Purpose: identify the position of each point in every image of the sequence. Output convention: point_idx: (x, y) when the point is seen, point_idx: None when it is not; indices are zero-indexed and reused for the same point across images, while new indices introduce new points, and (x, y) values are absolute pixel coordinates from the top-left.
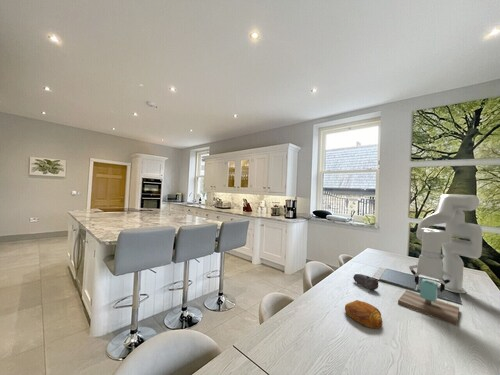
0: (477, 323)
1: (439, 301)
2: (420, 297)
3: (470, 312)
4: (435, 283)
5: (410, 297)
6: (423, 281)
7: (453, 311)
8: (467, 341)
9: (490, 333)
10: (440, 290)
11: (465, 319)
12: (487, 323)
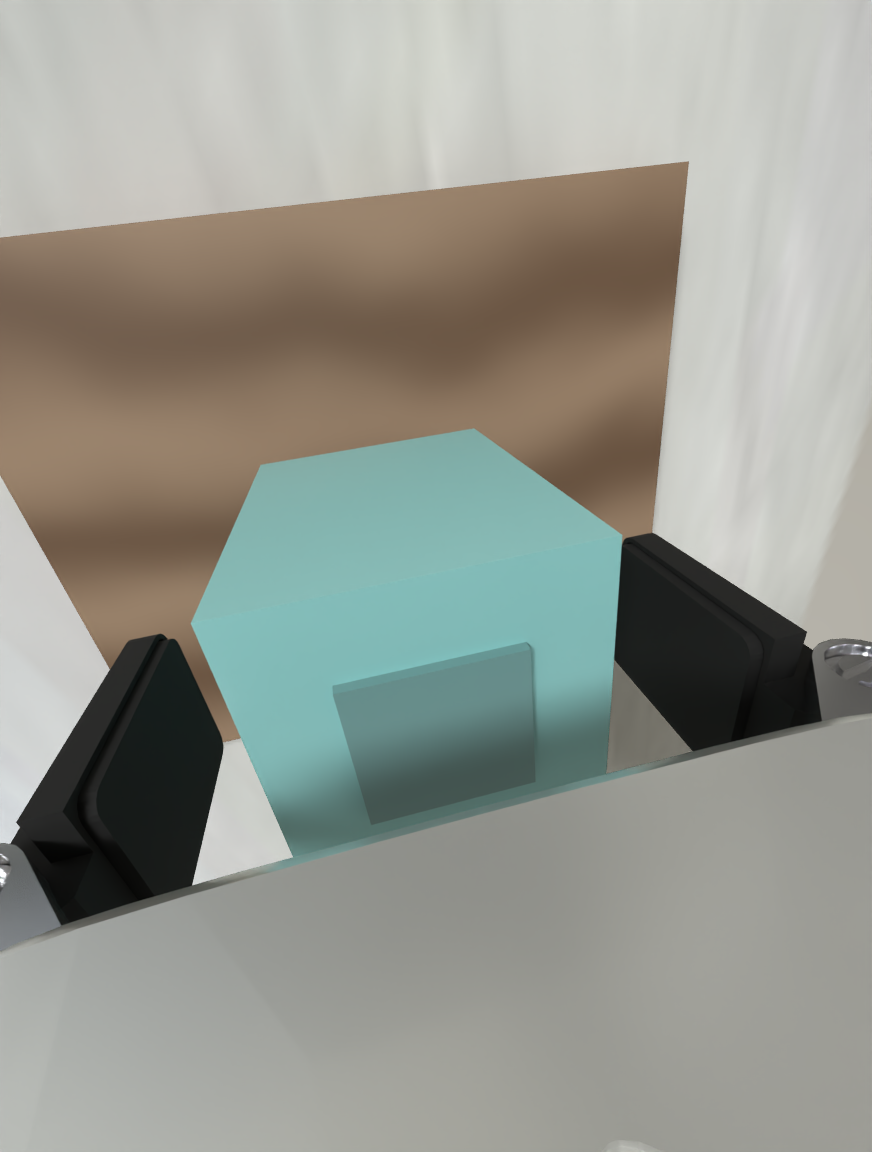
0: (773, 381)
1: (452, 230)
2: (227, 388)
3: (776, 25)
4: (576, 657)
5: (167, 551)
6: (333, 821)
7: (622, 442)
8: (664, 752)
9: (818, 496)
10: (627, 669)
11: (689, 401)
12: (867, 259)
